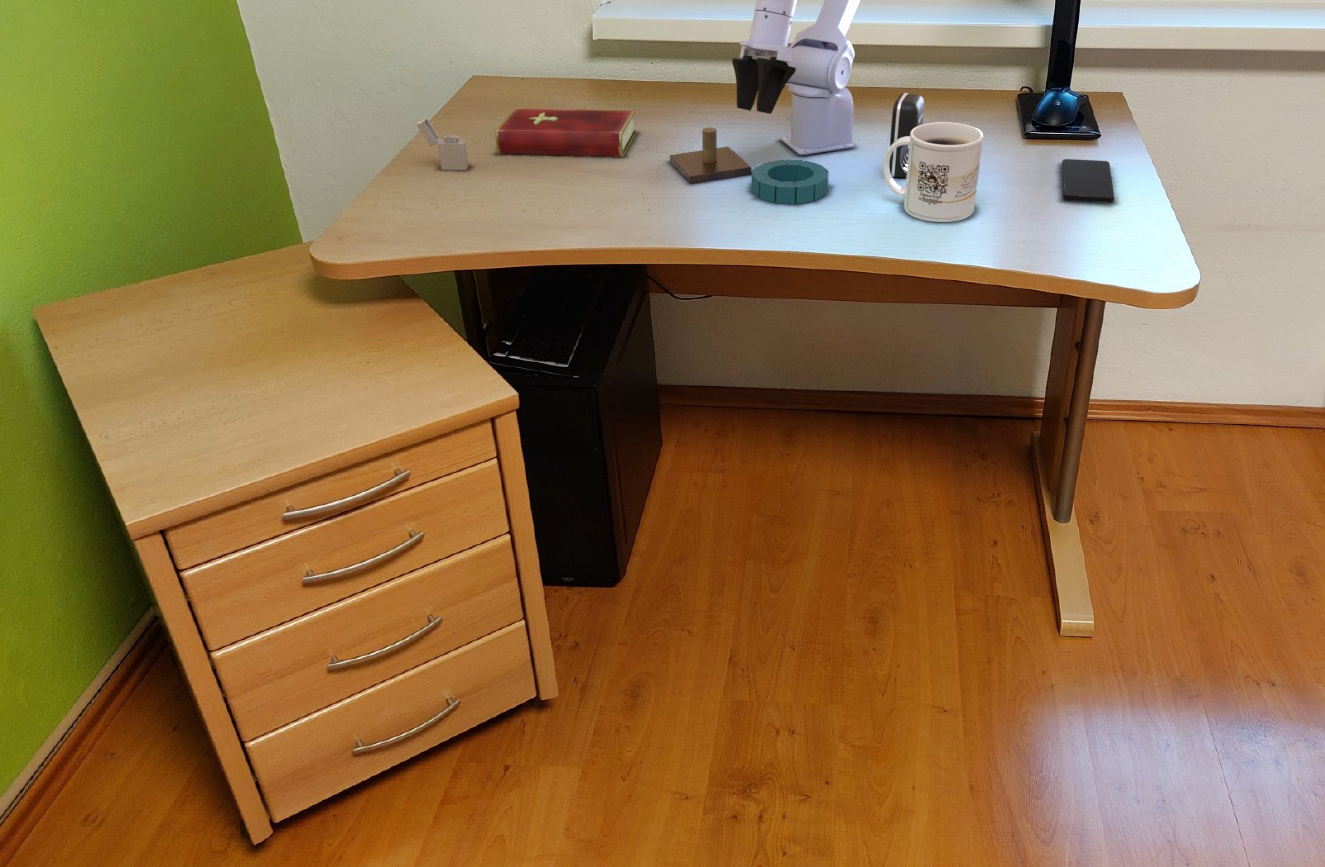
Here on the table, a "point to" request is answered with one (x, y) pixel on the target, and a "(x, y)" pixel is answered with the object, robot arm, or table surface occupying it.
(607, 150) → the hardcover book
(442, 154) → the lighter
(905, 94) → the battery charger
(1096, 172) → the smartphone
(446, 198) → the table surface
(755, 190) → the ring
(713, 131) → the stand
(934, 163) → the mug
